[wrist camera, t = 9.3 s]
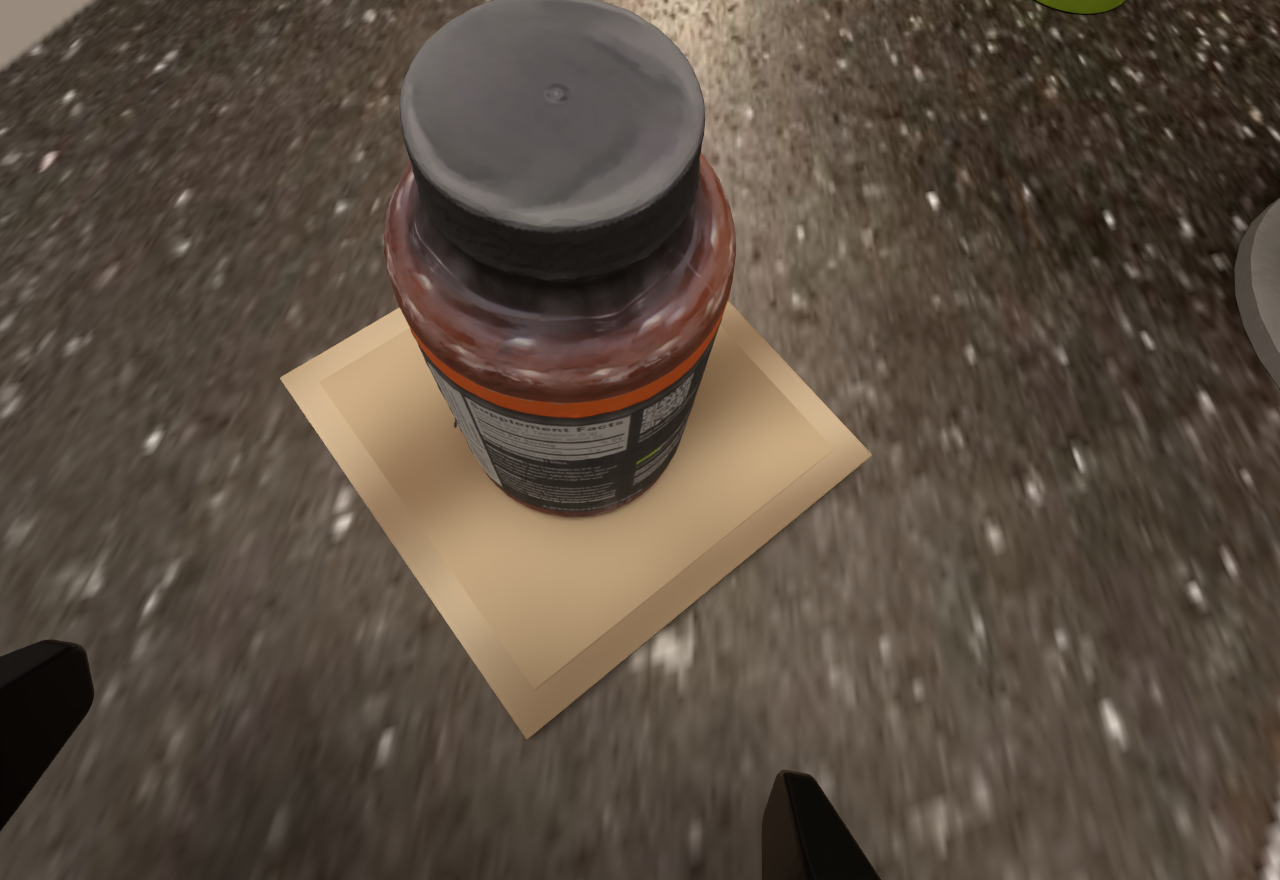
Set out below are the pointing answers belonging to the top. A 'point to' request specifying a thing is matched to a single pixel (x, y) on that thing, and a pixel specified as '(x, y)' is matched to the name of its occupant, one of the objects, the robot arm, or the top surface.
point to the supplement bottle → (560, 245)
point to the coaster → (571, 546)
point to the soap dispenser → (1082, 5)
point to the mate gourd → (1261, 287)
